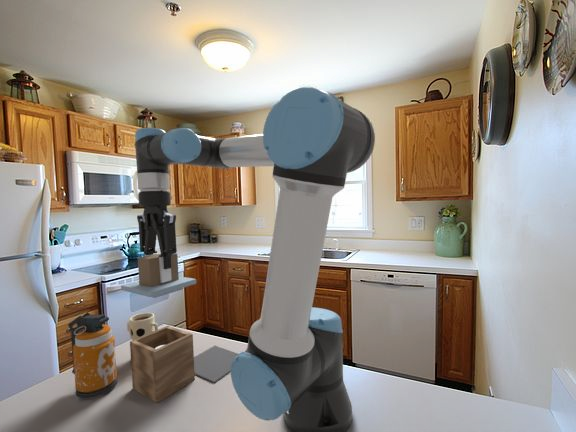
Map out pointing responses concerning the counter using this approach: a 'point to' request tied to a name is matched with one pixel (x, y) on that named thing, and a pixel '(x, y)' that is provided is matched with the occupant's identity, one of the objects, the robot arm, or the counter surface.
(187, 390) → the counter surface
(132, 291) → the lid
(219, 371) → the mat
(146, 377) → the box
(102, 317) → the canister
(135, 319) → the character mug
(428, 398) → the counter surface
